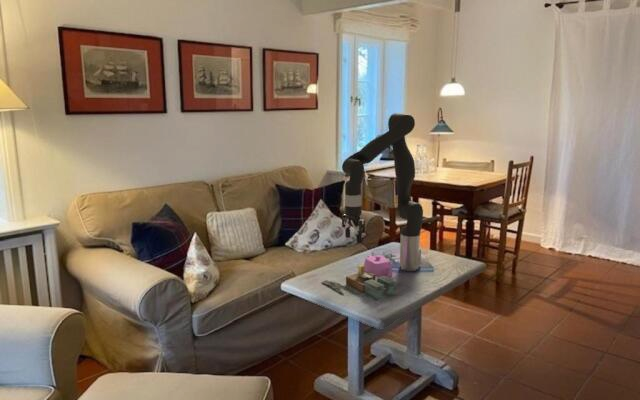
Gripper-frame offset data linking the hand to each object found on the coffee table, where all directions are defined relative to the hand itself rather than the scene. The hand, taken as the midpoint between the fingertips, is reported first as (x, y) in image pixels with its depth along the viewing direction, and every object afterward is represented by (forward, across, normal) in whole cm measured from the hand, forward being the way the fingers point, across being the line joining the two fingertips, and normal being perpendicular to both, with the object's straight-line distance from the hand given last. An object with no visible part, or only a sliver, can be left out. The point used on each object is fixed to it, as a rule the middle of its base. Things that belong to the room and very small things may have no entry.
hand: (353, 239), depth 220 cm
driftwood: (+21, -3, +11) cm, 23 cm away
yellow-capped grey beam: (+16, -9, 0) cm, 18 cm away
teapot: (+20, -3, -12) cm, 24 cm away
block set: (+20, -12, 0) cm, 23 cm away
